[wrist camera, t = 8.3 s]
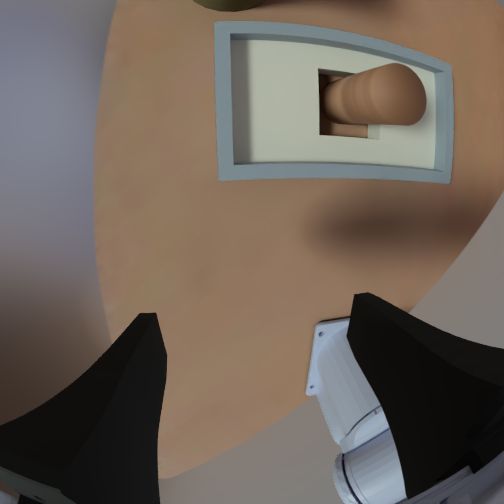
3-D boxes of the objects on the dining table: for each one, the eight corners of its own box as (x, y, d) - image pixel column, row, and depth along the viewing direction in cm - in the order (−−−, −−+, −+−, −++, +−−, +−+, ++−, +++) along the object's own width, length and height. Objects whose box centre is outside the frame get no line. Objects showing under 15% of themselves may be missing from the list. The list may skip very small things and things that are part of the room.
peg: (361, 87, 16) (428, 75, 10) (358, 128, 17) (423, 132, 11) (321, 76, 15) (377, 54, 9) (317, 119, 17) (372, 116, 10)
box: (427, 176, 19) (450, 184, 16) (218, 174, 17) (218, 181, 15) (427, 68, 15) (451, 64, 13) (214, 37, 14) (214, 21, 11)
